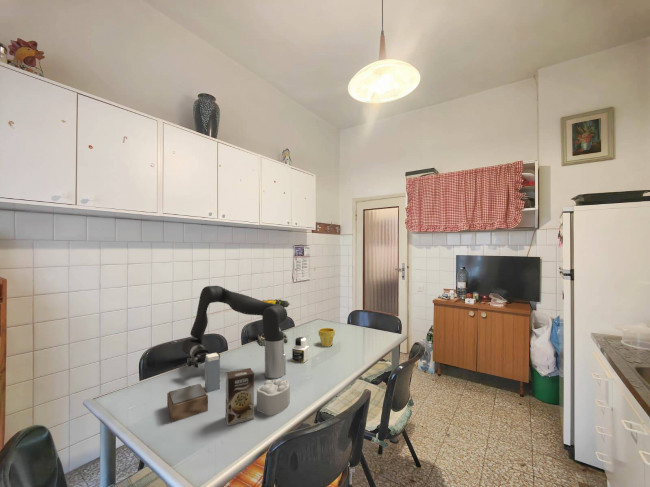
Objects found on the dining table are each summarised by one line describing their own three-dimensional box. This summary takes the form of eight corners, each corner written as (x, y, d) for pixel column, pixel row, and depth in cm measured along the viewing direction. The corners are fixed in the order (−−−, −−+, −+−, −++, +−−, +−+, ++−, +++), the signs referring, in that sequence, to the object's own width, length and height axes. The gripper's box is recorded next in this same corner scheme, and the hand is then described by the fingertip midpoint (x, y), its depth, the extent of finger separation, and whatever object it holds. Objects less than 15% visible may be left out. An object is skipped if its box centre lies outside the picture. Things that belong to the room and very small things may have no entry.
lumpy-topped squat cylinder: (253, 408, 107) (253, 385, 107) (278, 394, 117) (278, 373, 118) (271, 417, 101) (271, 393, 101) (296, 402, 111) (296, 380, 111)
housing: (216, 384, 126) (216, 352, 127) (219, 389, 122) (219, 355, 123) (204, 388, 123) (205, 354, 124) (207, 392, 119) (207, 358, 120)
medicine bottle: (292, 361, 153) (292, 339, 153) (298, 356, 159) (298, 335, 160) (303, 363, 150) (303, 340, 150) (309, 358, 157) (309, 336, 157)
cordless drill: (261, 347, 176) (261, 303, 177) (256, 338, 194) (256, 298, 195) (290, 343, 184) (289, 300, 185) (282, 335, 201) (282, 296, 202)
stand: (200, 397, 115) (200, 382, 115) (207, 410, 106) (207, 394, 106) (167, 407, 108) (167, 391, 108) (172, 422, 99) (172, 404, 99)
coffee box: (227, 426, 96) (228, 378, 96) (225, 416, 101) (225, 371, 102) (254, 419, 100) (254, 373, 101) (250, 410, 106) (250, 366, 106)
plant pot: (316, 343, 182) (316, 328, 183) (331, 341, 185) (331, 327, 186) (321, 348, 172) (321, 332, 173) (337, 346, 175) (336, 331, 176)
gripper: (184, 349, 139) (190, 359, 126) (213, 343, 148) (222, 352, 135) (183, 364, 139) (190, 376, 126) (213, 358, 148) (222, 368, 134)
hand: (207, 363), depth 130 cm, fingers open, 8 cm apart
